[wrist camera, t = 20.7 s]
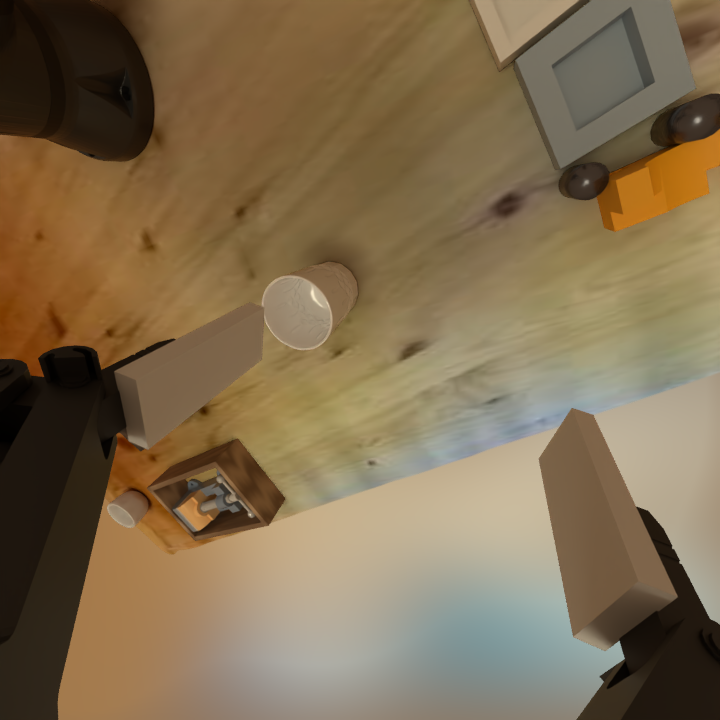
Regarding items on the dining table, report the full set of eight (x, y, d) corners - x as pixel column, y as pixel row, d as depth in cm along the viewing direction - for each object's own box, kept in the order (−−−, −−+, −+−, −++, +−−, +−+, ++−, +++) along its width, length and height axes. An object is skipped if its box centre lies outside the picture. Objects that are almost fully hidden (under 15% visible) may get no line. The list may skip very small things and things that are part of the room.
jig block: (513, 68, 29) (515, 59, 27) (640, -30, 24) (655, -50, 22) (555, 169, 31) (560, 168, 29) (679, 95, 27) (696, 88, 24)
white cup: (374, 302, 42) (347, 332, 34) (326, 327, 46) (290, 360, 37) (341, 243, 40) (302, 260, 32) (293, 275, 44) (247, 297, 35)
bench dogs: (554, 177, 31) (564, 176, 27) (686, 99, 27) (724, 83, 22) (565, 203, 32) (577, 206, 28) (695, 132, 27) (734, 122, 23)
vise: (216, 513, 76) (195, 540, 70) (185, 479, 73) (161, 504, 68) (269, 497, 67) (249, 526, 61) (236, 457, 65) (212, 484, 59)
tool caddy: (170, 466, 73) (146, 488, 68) (237, 438, 62) (215, 461, 57) (214, 516, 76) (195, 540, 71) (285, 498, 65) (268, 525, 60)
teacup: (137, 483, 80) (116, 501, 76) (159, 506, 82) (140, 525, 78) (118, 491, 85) (97, 508, 81) (139, 513, 87) (120, 531, 83)
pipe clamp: (603, 227, 32) (628, 236, 26) (592, 180, 31) (615, 180, 25) (786, 156, 26) (864, 149, 21) (781, 95, 25) (863, 71, 20)
